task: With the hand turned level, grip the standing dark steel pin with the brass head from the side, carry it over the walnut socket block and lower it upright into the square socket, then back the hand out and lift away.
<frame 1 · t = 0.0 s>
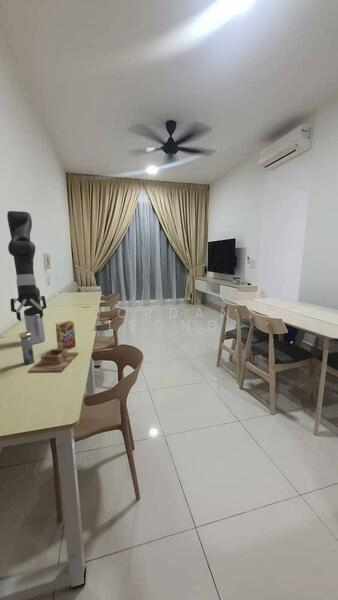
hand: (30, 319, 112), 22 cm above the table, tool pointing down, fingers open, 8 cm apart
socket block: (55, 362, 118), on the table
candy box: (67, 348, 136), on the table
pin: (29, 362, 118), on the table
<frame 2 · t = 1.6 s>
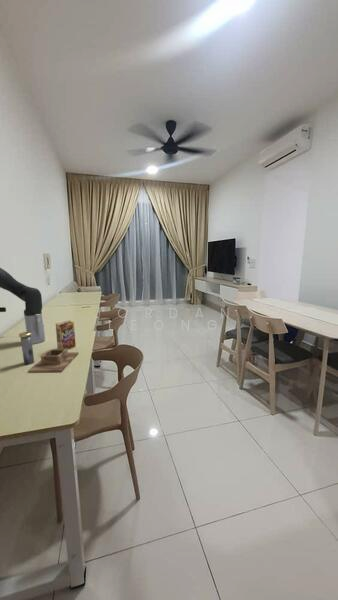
nothing on the table moved.
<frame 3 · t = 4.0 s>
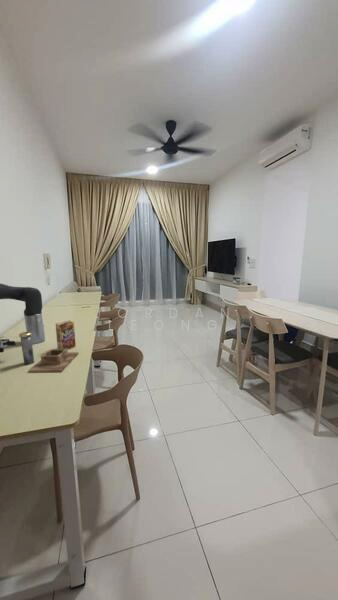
hand: (9, 346, 117), 9 cm above the table, tool horizontal, fingers open, 8 cm apart
nothing on the table moved.
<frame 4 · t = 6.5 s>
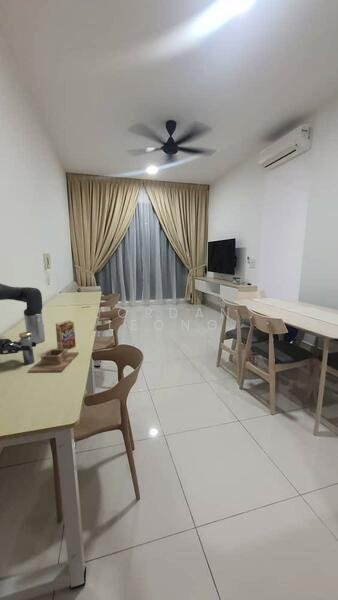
hand: (32, 346, 116), 9 cm above the table, tool horizontal, fingers closed on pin, 4 cm apart
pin: (29, 362, 118), on the table, touching gripper
everything else where it was.
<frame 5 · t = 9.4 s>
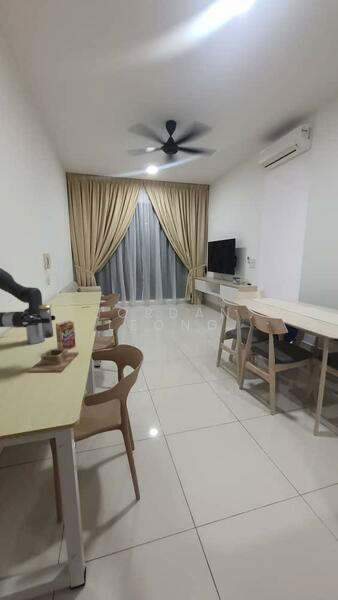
hand: (52, 319, 113), 22 cm above the table, tool horizontal, fingers closed on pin, 4 cm apart
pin: (48, 336, 115), point 13 cm above the table, touching gripper
everything else where it was.
when the fingers open (11 cm above the table, at t = 12.7 s): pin drops 1 cm, resting on socket block.
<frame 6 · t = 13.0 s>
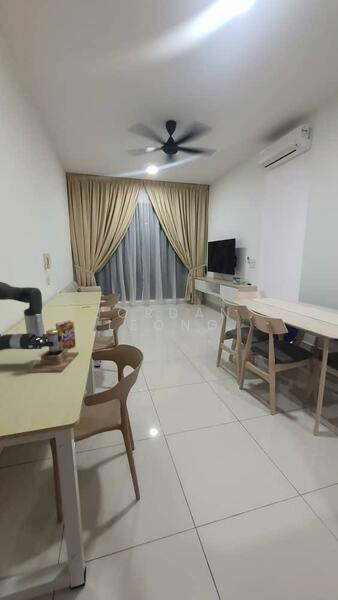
hand: (57, 340, 116), 11 cm above the table, tool horizontal, fingers open, 7 cm apart
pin: (55, 360, 118), point 1 cm above the table, touching socket block
everything else where it was.
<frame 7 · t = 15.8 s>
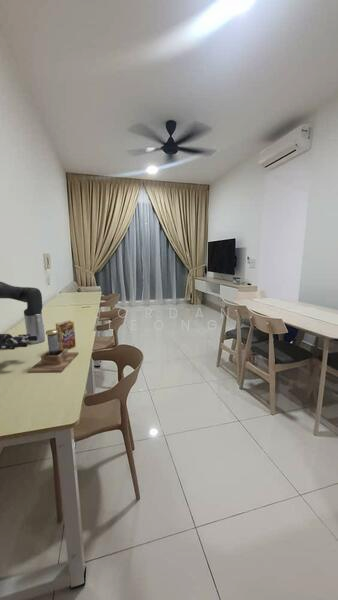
hand: (32, 341, 116), 11 cm above the table, tool horizontal, fingers open, 8 cm apart
nothing on the table moved.
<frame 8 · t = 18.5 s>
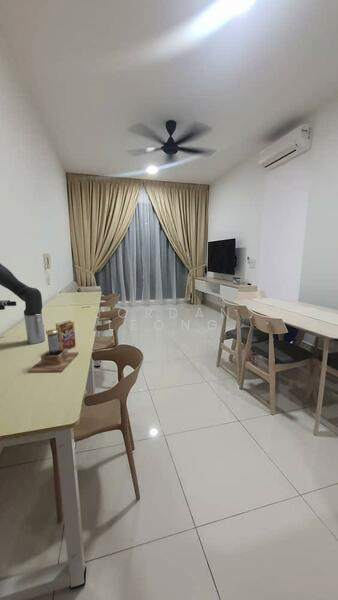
hand: (10, 305, 117), 28 cm above the table, tool horizontal, fingers open, 8 cm apart
nothing on the table moved.
at the end: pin 0.1 cm off-centre on the socket block, point 1.0 cm above the socket block's base; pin tilted 0°; the gripper is holding nothing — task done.
